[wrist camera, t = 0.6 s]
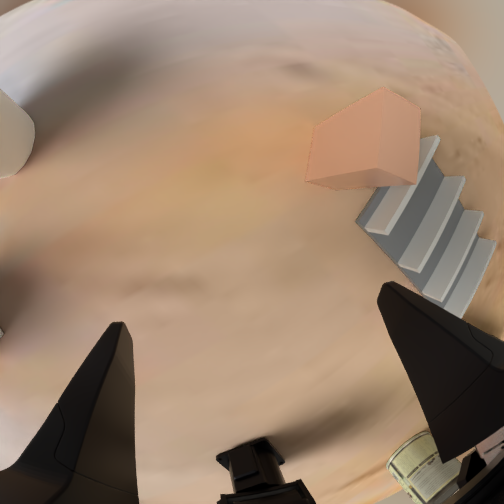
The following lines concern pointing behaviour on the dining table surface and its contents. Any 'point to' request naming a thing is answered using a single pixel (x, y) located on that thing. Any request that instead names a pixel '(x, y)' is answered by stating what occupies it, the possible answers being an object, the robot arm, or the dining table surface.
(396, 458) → the coffee can
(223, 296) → the dining table surface
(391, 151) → the salmon rectangular block
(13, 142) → the foam cup
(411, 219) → the rack
